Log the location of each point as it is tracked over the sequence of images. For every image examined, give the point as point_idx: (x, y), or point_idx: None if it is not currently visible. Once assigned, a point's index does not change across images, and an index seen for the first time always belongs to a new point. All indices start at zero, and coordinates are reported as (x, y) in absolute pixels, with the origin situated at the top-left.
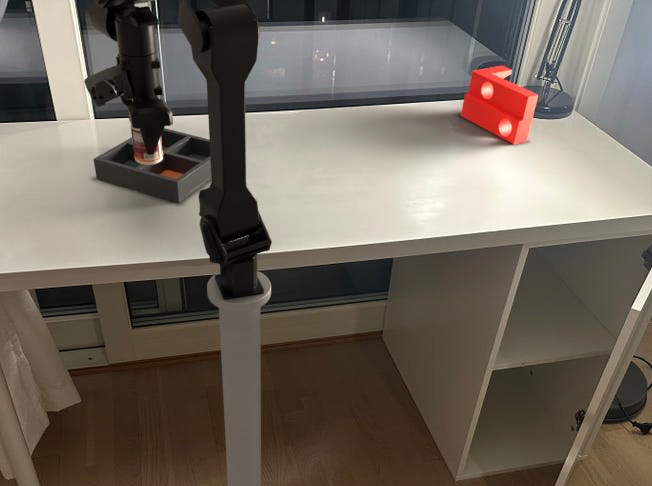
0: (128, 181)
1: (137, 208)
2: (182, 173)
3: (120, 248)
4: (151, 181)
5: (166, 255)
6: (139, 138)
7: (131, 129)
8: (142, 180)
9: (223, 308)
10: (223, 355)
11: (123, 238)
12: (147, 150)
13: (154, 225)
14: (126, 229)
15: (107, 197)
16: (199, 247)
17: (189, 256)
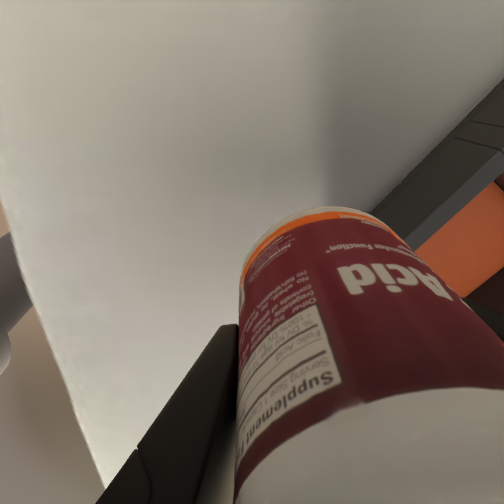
0: (501, 101)
1: (327, 126)
2: (492, 277)
3: (50, 55)
4: (425, 197)
5: (27, 205)
6: (256, 378)
7: (388, 373)
8: (457, 162)
9: None
10: (4, 235)
11: (121, 68)
12: (207, 352)
13: (205, 178)
14: (184, 81)
15: (446, 3)
16: (80, 287)
17: (31, 262)
